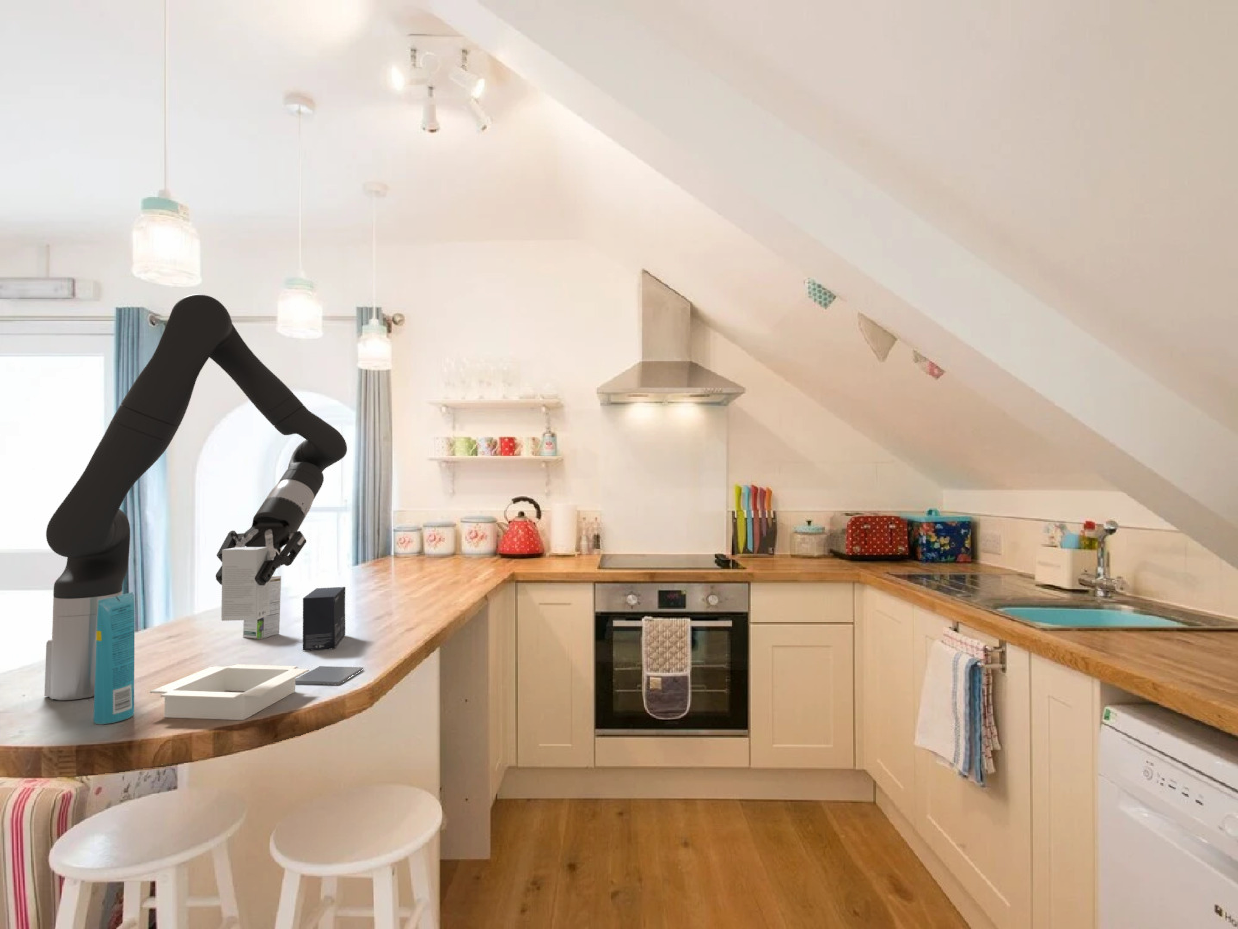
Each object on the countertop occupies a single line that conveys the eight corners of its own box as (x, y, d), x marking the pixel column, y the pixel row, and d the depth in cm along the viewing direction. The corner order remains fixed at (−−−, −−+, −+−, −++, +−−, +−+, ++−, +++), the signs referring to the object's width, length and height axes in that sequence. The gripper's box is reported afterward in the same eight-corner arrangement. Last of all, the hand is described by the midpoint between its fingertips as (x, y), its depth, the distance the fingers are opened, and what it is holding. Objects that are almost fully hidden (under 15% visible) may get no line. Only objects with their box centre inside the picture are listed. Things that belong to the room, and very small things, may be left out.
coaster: (292, 683, 112) (292, 680, 112) (319, 669, 121) (319, 666, 121) (338, 685, 111) (338, 682, 111) (363, 670, 120) (363, 667, 120)
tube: (110, 711, 98) (114, 592, 99) (144, 709, 99) (148, 591, 100) (79, 729, 91) (84, 600, 91) (116, 727, 92) (120, 599, 92)
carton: (141, 720, 94) (142, 694, 94) (218, 686, 110) (218, 664, 111) (251, 724, 93) (252, 698, 93) (313, 689, 109) (313, 666, 109)
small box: (315, 637, 146) (316, 587, 147) (345, 635, 148) (346, 586, 149) (301, 651, 134) (302, 597, 134) (334, 649, 136) (335, 595, 136)
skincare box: (270, 615, 106) (271, 546, 106) (256, 620, 101) (257, 549, 102) (235, 615, 105) (236, 546, 106) (219, 621, 101) (220, 549, 102)
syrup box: (241, 637, 146) (243, 577, 146) (263, 632, 151) (264, 573, 152) (259, 639, 144) (261, 578, 144) (280, 634, 149) (282, 574, 150)
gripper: (239, 495, 112) (187, 568, 100) (313, 495, 111) (269, 569, 99) (258, 522, 117) (211, 594, 105) (329, 522, 116) (289, 596, 104)
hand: (239, 582), depth 102 cm, fingers closed on skincare box, 6 cm apart
